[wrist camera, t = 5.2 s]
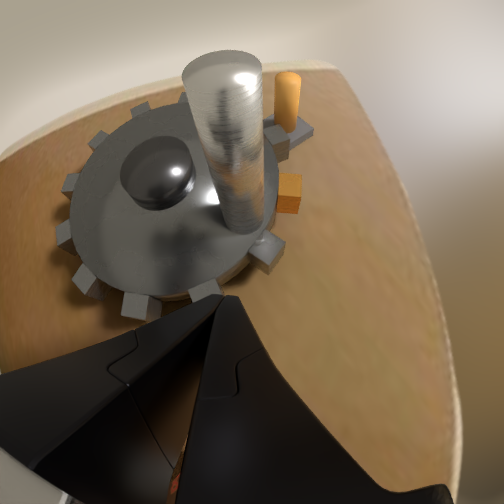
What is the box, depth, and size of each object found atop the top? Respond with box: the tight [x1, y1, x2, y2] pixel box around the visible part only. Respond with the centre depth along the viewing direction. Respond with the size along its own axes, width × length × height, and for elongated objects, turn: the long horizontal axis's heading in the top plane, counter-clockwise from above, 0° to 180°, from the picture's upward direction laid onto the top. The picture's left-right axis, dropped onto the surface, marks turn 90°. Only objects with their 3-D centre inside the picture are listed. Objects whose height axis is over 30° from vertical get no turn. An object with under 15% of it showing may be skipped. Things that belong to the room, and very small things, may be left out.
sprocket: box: [56, 50, 302, 322], centre depth 12 cm, size 15×15×11 cm
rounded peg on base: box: [263, 72, 314, 150], centre depth 17 cm, size 3×3×5 cm
